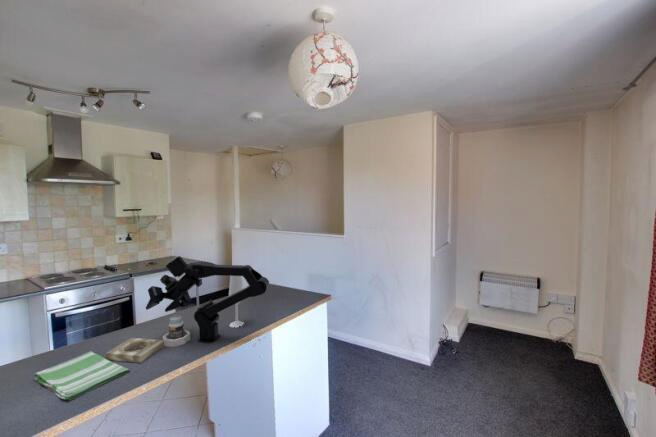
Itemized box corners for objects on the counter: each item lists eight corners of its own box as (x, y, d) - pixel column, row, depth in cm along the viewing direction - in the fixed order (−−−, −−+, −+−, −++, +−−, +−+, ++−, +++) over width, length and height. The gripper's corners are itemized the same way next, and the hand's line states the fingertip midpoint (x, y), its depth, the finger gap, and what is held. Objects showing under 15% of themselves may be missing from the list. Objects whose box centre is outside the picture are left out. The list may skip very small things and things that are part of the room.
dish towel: (66, 405, 88) (65, 395, 87) (30, 381, 99) (30, 373, 98) (130, 373, 103) (130, 365, 103) (94, 356, 114) (93, 349, 114)
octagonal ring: (194, 336, 129) (194, 330, 129) (180, 347, 120) (180, 341, 120) (173, 334, 131) (173, 329, 130) (158, 345, 121) (157, 339, 121)
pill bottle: (168, 345, 121) (168, 321, 121) (168, 339, 126) (168, 316, 126) (184, 342, 124) (184, 318, 123) (184, 336, 129) (183, 313, 128)
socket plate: (164, 346, 121) (163, 340, 120) (141, 362, 109) (141, 356, 109) (131, 343, 123) (131, 337, 122) (106, 359, 111) (105, 353, 111)
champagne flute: (241, 320, 146) (240, 270, 144) (246, 325, 141) (245, 273, 139) (227, 323, 142) (226, 272, 141) (231, 328, 137) (230, 275, 135)
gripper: (194, 274, 138) (168, 297, 139) (159, 265, 122) (130, 291, 123) (202, 294, 132) (176, 317, 133) (167, 287, 116) (137, 314, 117)
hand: (156, 309), depth 126 cm, fingers open, 9 cm apart
